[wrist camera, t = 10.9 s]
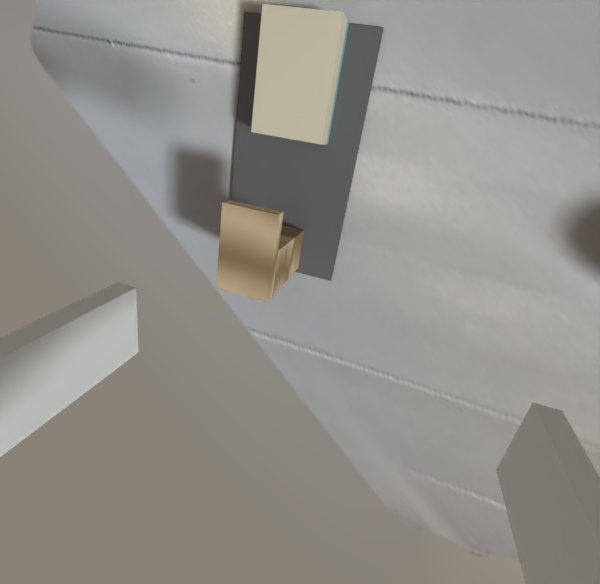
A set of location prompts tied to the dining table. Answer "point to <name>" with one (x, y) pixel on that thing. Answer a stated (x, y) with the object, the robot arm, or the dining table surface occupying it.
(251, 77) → the mat
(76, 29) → the dining table surface
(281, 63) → the two-tone tile
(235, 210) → the oak shelf
